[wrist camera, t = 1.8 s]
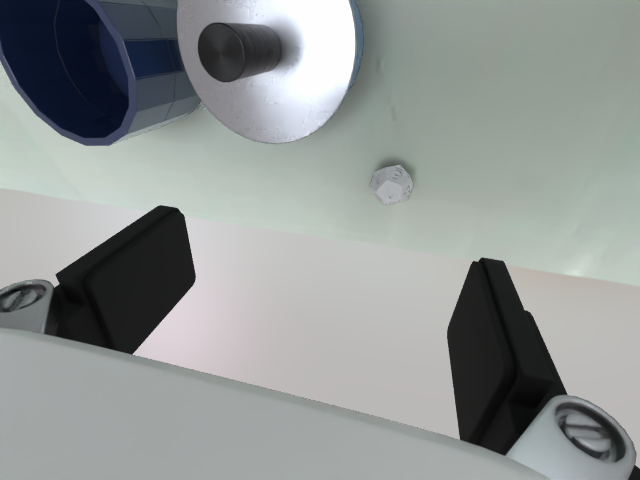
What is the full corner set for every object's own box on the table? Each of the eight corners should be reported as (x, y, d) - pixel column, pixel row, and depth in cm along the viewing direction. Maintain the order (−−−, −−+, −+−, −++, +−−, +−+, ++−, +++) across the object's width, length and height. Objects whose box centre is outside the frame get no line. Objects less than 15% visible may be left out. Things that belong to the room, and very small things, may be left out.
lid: (357, -93, 17) (330, -148, 12) (359, 139, 23) (342, 170, 18) (162, -58, 20) (72, -89, 15) (210, 140, 26) (158, 167, 21)
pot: (187, -29, 25) (92, -53, 18) (219, 118, 31) (157, 145, 24) (77, -12, 28) (-45, -27, 21) (125, 120, 34) (43, 146, 26)
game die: (407, 154, 28) (406, 166, 26) (416, 193, 30) (416, 208, 27) (368, 164, 30) (363, 177, 27) (378, 201, 31) (375, 216, 29)
